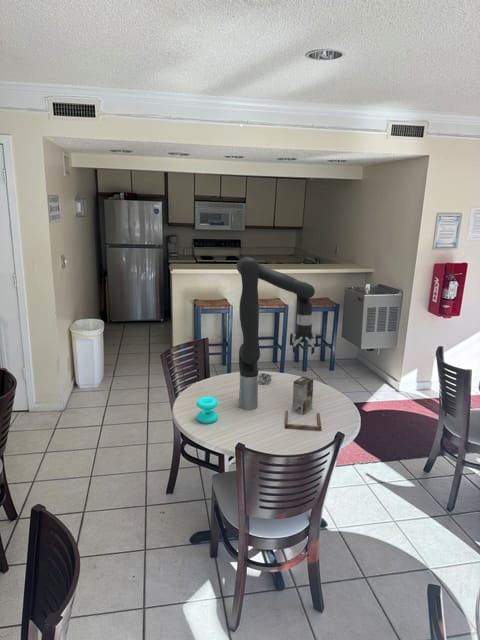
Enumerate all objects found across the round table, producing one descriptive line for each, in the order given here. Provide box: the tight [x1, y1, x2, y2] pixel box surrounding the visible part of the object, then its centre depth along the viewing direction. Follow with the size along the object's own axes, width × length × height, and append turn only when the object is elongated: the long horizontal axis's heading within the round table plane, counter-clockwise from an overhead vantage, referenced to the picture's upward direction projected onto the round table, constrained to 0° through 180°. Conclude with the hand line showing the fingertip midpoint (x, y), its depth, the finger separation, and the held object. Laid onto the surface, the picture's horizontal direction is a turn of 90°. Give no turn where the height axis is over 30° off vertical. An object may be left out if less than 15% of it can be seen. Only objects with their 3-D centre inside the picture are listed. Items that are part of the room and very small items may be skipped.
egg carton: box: [258, 372, 272, 386], centre depth 252 cm, size 11×8×4 cm
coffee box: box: [292, 375, 314, 416], centre depth 216 cm, size 9×6×16 cm
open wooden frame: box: [284, 410, 322, 432], centre depth 206 cm, size 16×14×2 cm
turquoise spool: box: [196, 396, 219, 424], centre depth 206 cm, size 10×10×10 cm
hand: (303, 353), depth 221 cm, fingers open, 8 cm apart
